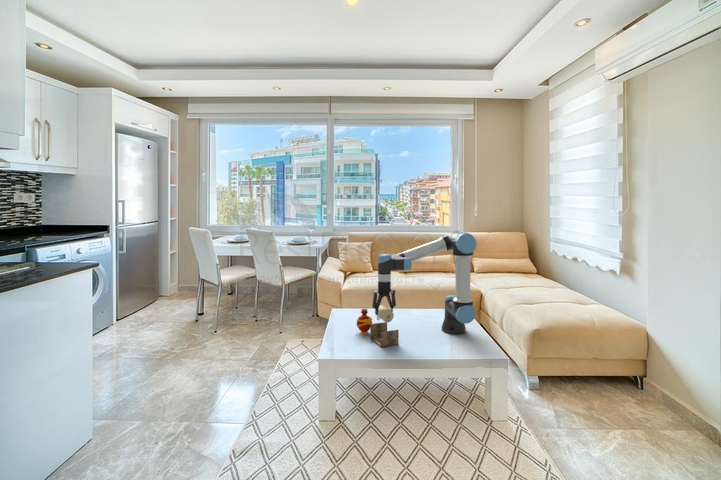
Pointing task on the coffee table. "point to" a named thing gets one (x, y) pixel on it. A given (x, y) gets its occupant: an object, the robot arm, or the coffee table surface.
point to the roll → (385, 314)
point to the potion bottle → (364, 322)
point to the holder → (383, 335)
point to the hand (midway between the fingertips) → (384, 318)
